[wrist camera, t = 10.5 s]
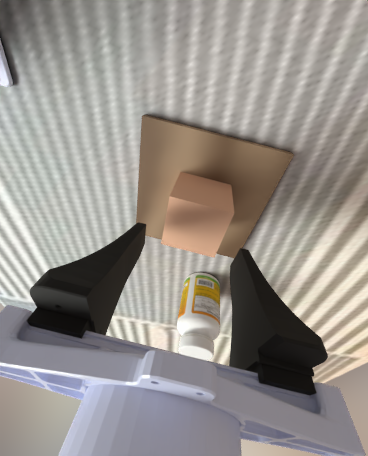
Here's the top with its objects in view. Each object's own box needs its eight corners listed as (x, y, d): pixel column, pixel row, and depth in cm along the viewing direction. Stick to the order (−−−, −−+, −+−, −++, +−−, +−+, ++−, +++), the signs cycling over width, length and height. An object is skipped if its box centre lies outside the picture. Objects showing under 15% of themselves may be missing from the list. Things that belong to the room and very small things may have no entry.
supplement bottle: (194, 296, 31) (186, 364, 24) (178, 276, 29) (163, 345, 21) (225, 289, 29) (227, 363, 22) (210, 267, 27) (206, 341, 19)
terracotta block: (172, 214, 21) (161, 243, 17) (180, 171, 18) (169, 196, 14) (215, 225, 21) (214, 257, 17) (231, 184, 18) (234, 213, 14)
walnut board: (137, 229, 24) (135, 232, 24) (145, 114, 16) (142, 115, 16) (235, 254, 24) (236, 258, 24) (291, 152, 16) (294, 155, 16)
